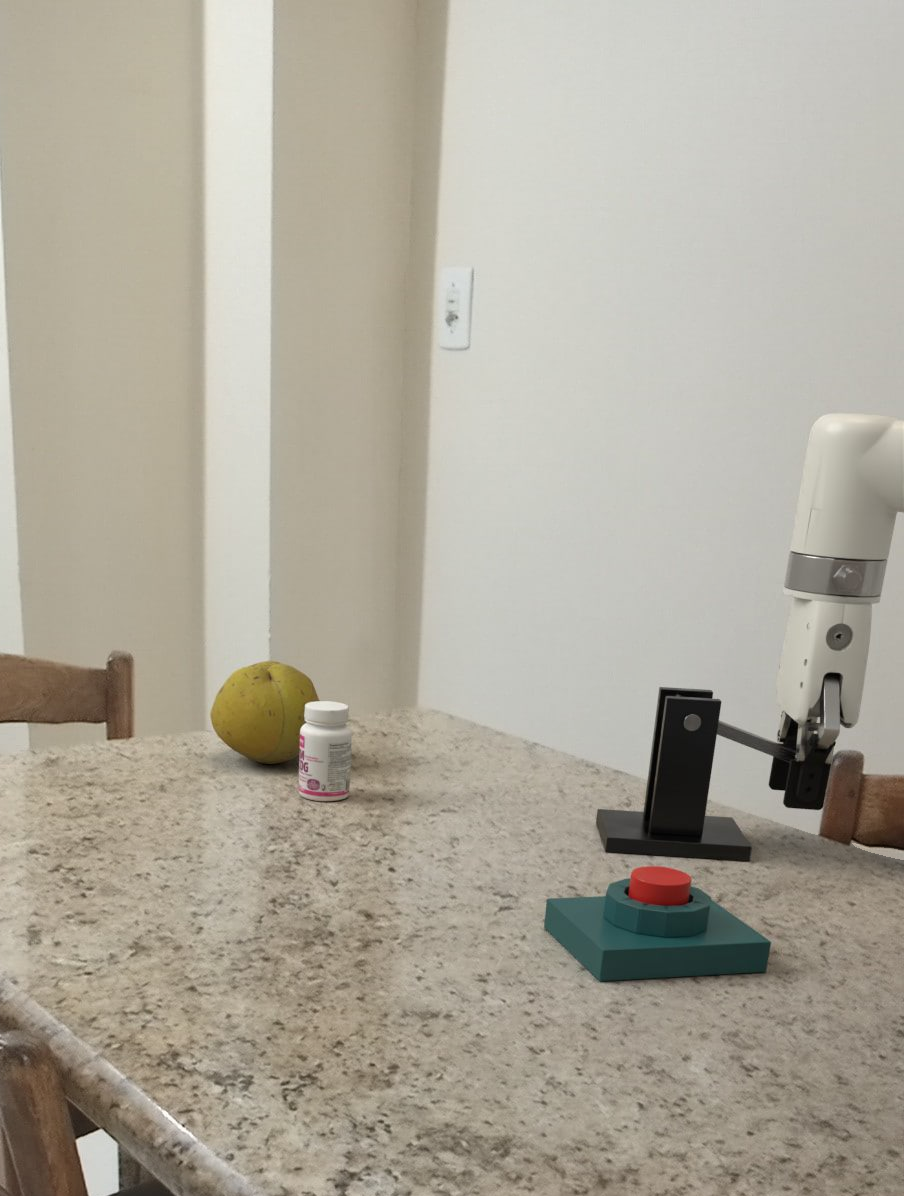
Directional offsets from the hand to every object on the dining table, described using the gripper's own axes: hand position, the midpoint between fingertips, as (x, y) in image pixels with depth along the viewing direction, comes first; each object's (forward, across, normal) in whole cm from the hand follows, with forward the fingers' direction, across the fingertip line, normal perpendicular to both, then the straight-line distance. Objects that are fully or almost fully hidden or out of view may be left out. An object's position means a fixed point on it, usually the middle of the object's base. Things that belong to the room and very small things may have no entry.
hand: (794, 796), depth 117 cm
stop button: (+1, -27, +15) cm, 31 cm away
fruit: (+5, +19, +48) cm, 52 cm away
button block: (+5, -27, +15) cm, 31 cm away
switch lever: (-4, 0, +5) cm, 7 cm away
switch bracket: (+5, 0, +10) cm, 11 cm away
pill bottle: (+5, +8, +41) cm, 42 cm away
